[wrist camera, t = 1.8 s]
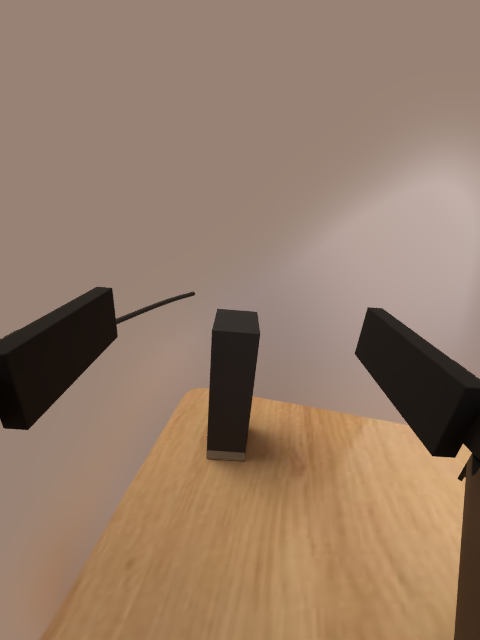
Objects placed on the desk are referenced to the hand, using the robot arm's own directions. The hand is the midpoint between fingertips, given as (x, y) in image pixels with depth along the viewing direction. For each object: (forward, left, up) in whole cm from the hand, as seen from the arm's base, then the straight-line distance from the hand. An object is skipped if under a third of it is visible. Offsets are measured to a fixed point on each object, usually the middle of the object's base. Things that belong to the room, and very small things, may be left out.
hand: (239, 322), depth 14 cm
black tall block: (-9, -3, -19) cm, 21 cm away
